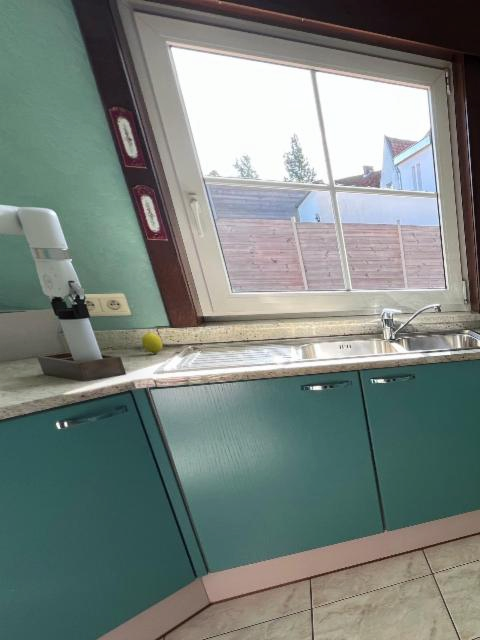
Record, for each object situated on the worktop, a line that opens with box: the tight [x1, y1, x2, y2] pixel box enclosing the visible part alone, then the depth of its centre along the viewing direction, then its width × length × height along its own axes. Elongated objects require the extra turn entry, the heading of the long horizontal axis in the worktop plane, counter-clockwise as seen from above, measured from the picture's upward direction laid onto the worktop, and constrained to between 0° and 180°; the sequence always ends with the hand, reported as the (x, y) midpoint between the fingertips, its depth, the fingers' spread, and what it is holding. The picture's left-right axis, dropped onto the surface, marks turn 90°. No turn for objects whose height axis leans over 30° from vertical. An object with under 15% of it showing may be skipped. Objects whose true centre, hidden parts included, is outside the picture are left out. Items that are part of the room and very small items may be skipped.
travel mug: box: [56, 307, 103, 362], centre depth 149 cm, size 6×7×20 cm
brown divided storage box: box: [36, 351, 127, 382], centre depth 153 cm, size 11×20×6 cm, turn 71°
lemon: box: [141, 332, 163, 355], centre depth 183 cm, size 6×6×8 cm
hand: (73, 316), depth 146 cm, fingers open, 9 cm apart
